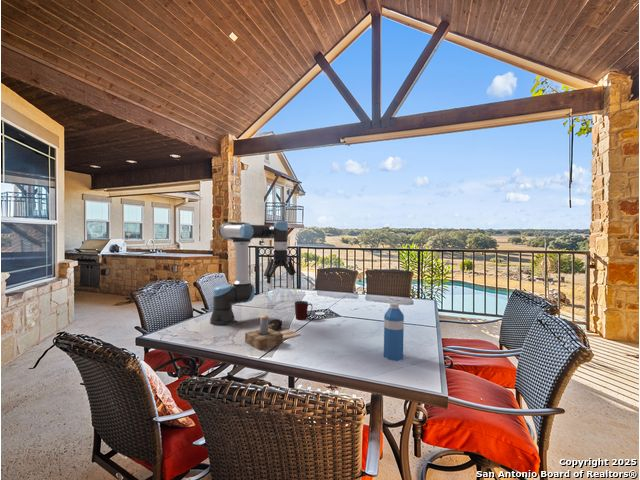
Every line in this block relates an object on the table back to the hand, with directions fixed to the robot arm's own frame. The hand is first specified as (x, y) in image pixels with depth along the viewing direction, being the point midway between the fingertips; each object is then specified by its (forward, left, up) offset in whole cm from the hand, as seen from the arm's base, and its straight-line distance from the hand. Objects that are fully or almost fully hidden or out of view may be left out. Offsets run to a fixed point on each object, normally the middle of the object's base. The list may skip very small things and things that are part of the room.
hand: (280, 287), depth 166 cm
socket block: (+2, -12, -27) cm, 30 cm away
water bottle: (+58, +24, -28) cm, 68 cm away
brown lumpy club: (-11, +2, -27) cm, 29 cm away
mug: (-19, +33, -28) cm, 47 cm away
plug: (+2, -12, -27) cm, 30 cm away
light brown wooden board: (-1, +4, -27) cm, 28 cm away
